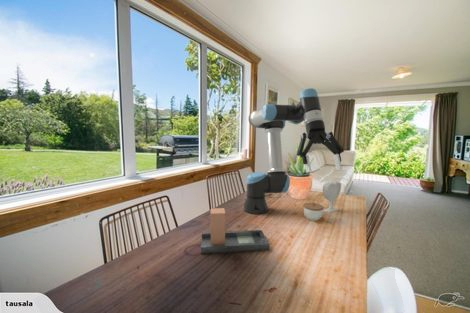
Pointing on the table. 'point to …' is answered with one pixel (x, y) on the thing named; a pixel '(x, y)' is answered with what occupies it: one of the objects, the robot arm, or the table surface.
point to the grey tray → (236, 242)
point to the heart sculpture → (331, 194)
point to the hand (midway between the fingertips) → (324, 171)
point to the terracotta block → (217, 226)
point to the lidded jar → (313, 211)
